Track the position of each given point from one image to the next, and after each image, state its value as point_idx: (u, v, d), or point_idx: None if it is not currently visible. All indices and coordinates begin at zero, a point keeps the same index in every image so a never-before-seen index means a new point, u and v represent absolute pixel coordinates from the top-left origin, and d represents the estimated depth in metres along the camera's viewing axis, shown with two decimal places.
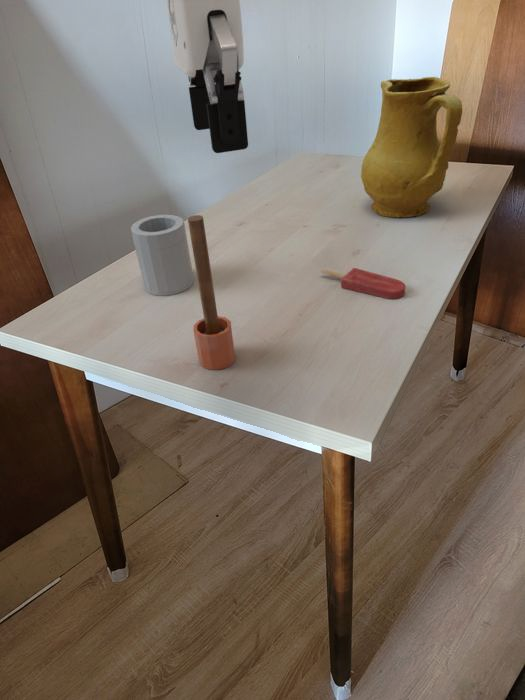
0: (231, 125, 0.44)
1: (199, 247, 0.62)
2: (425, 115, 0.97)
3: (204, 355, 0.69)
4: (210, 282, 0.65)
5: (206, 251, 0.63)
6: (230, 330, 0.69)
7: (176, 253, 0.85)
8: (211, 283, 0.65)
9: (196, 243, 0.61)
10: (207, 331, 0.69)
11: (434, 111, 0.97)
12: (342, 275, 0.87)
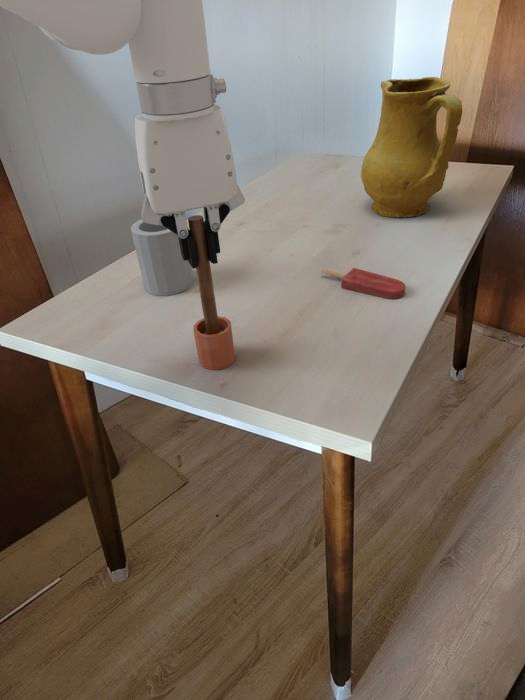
0: (181, 248, 0.62)
1: (199, 247, 0.62)
2: (425, 115, 0.97)
3: (204, 355, 0.69)
4: (210, 282, 0.65)
5: (206, 251, 0.63)
6: (230, 330, 0.69)
7: (176, 253, 0.85)
8: (211, 283, 0.65)
9: (196, 243, 0.61)
10: (207, 331, 0.69)
11: (434, 111, 0.97)
12: (342, 275, 0.87)
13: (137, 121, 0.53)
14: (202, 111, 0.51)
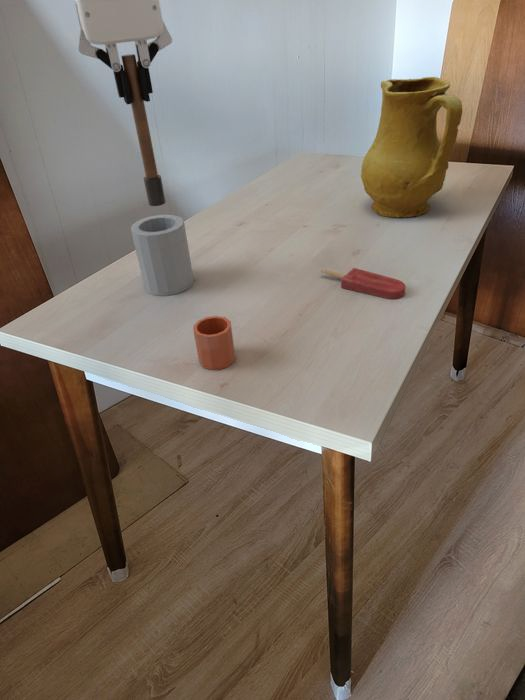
0: (117, 85, 0.70)
1: (132, 84, 0.70)
2: (425, 115, 0.97)
3: (204, 355, 0.69)
4: (145, 122, 0.73)
5: (139, 89, 0.70)
6: (230, 330, 0.69)
7: (176, 253, 0.85)
8: (146, 123, 0.73)
9: (129, 79, 0.69)
10: (146, 175, 0.77)
11: (434, 111, 0.97)
12: (342, 275, 0.87)
13: None
14: None
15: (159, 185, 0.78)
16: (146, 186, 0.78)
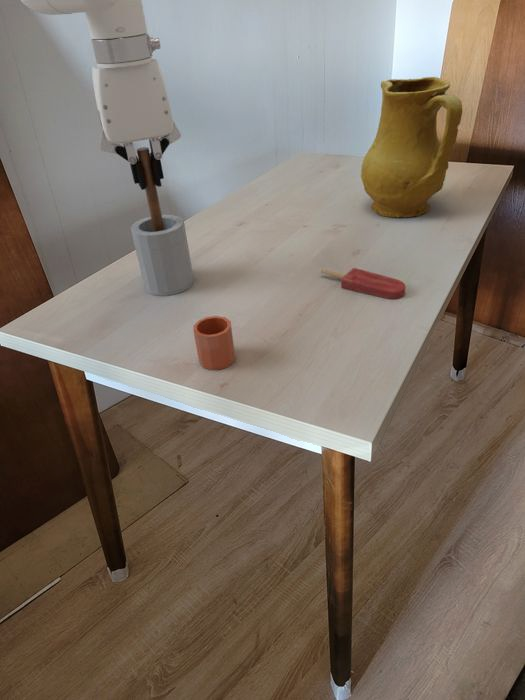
0: (132, 174, 0.80)
1: (146, 172, 0.80)
2: (425, 115, 0.97)
3: (204, 355, 0.69)
4: (157, 202, 0.83)
5: (152, 176, 0.81)
6: (230, 330, 0.69)
7: (176, 253, 0.85)
8: (158, 203, 0.83)
9: (144, 169, 0.80)
10: None
11: (434, 111, 0.97)
12: (342, 275, 0.87)
13: (93, 69, 0.71)
14: (140, 61, 0.69)
15: None
16: None
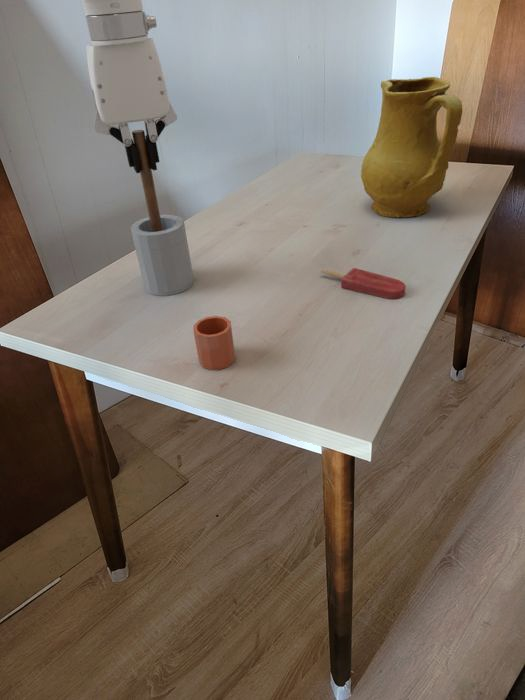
0: (127, 157, 0.78)
1: (141, 155, 0.78)
2: (425, 115, 0.97)
3: (204, 355, 0.69)
4: (152, 187, 0.81)
5: (147, 159, 0.79)
6: (230, 330, 0.69)
7: (176, 253, 0.85)
8: (153, 188, 0.81)
9: (139, 152, 0.78)
10: (152, 231, 0.85)
11: (434, 111, 0.97)
12: (342, 275, 0.87)
13: (87, 47, 0.69)
14: (135, 38, 0.68)
15: None
16: None
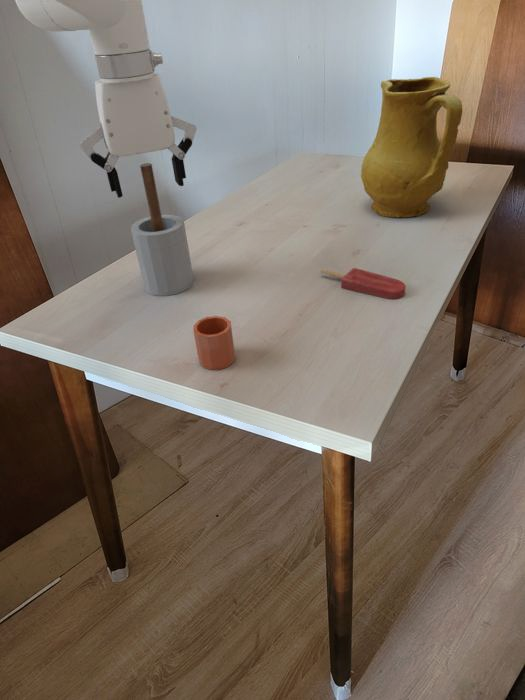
0: (109, 181, 0.79)
1: (149, 188, 0.81)
2: (425, 115, 0.97)
3: (204, 355, 0.69)
4: (159, 217, 0.84)
5: (155, 191, 0.82)
6: (230, 330, 0.69)
7: (176, 253, 0.85)
8: (160, 217, 0.85)
9: (147, 184, 0.81)
10: None
11: (434, 111, 0.97)
12: (342, 275, 0.87)
13: (96, 84, 0.72)
14: (142, 76, 0.71)
15: None
16: None
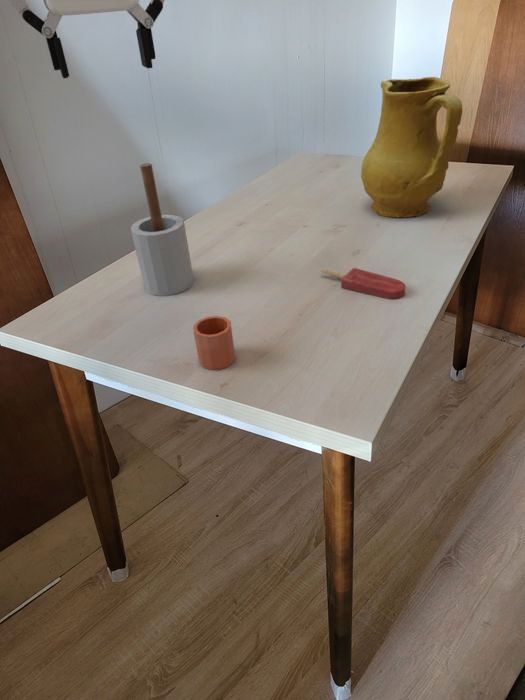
0: (50, 55, 0.59)
1: (149, 188, 0.81)
2: (425, 115, 0.97)
3: (204, 355, 0.69)
4: (159, 217, 0.84)
5: (155, 191, 0.82)
6: (230, 330, 0.69)
7: (176, 253, 0.85)
8: (160, 217, 0.85)
9: (147, 184, 0.81)
10: None
11: (434, 111, 0.97)
12: (342, 275, 0.87)
13: None
14: None
15: None
16: None
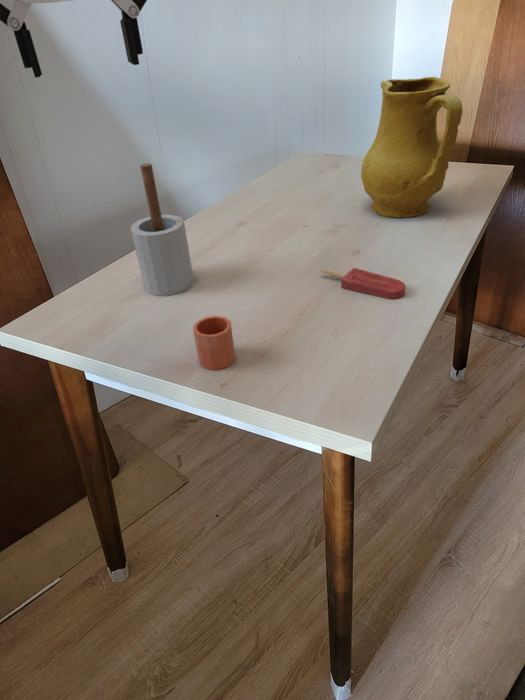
0: None
1: (149, 188, 0.81)
2: (425, 115, 0.97)
3: (204, 355, 0.69)
4: (159, 217, 0.84)
5: (155, 191, 0.82)
6: (230, 330, 0.69)
7: (176, 253, 0.85)
8: (160, 217, 0.85)
9: (147, 184, 0.81)
10: None
11: (434, 111, 0.97)
12: (342, 275, 0.87)
13: None
14: None
15: None
16: None
